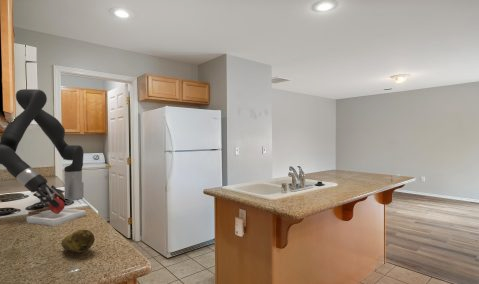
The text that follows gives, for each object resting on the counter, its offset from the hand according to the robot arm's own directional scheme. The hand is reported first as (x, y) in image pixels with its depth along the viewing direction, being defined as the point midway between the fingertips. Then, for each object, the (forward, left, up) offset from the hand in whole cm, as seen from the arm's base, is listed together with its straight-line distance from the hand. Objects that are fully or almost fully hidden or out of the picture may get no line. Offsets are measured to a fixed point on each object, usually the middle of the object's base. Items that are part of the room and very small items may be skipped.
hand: (61, 204), depth 122 cm
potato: (+26, +40, -7) cm, 49 cm away
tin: (-16, -27, -7) cm, 33 cm away
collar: (-5, -16, -7) cm, 18 cm away
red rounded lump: (+1, -2, -5) cm, 5 cm away
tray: (+1, -1, -7) cm, 7 cm away
